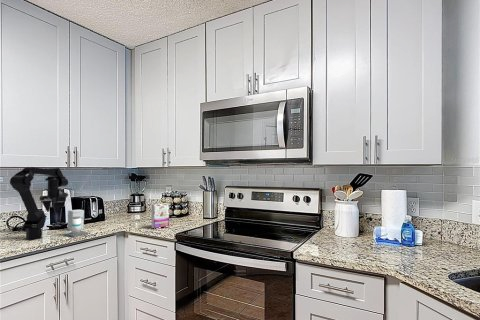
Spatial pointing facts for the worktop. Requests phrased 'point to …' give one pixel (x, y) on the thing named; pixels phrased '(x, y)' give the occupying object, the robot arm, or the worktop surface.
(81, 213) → the supplement box
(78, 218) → the cartridge
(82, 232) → the mat
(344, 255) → the worktop surface
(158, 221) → the candy bar box
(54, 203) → the robot arm
